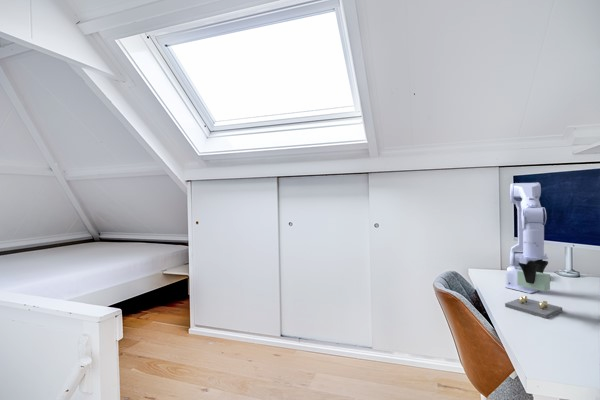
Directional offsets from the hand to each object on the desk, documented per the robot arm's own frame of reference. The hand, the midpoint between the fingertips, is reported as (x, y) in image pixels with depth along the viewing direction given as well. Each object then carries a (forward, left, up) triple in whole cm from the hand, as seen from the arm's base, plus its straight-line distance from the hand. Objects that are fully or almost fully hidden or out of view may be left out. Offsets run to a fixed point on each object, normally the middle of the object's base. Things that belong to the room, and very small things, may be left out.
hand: (533, 282), depth 106 cm
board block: (0, 0, -2) cm, 2 cm away
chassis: (0, 0, -9) cm, 9 cm away
